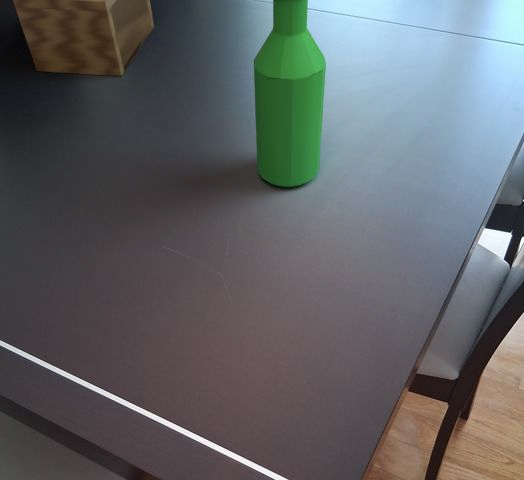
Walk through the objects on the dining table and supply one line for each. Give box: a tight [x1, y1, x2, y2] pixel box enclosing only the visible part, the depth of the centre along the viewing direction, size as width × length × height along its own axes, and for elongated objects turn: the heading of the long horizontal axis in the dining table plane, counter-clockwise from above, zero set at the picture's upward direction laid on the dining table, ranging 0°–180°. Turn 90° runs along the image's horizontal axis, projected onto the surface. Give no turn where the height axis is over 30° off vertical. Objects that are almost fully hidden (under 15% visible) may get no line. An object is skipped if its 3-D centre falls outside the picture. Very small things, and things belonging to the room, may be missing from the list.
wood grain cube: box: [12, 0, 155, 77], centre depth 102 cm, size 16×20×12 cm
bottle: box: [253, 0, 327, 188], centre depth 71 cm, size 9×9×25 cm
